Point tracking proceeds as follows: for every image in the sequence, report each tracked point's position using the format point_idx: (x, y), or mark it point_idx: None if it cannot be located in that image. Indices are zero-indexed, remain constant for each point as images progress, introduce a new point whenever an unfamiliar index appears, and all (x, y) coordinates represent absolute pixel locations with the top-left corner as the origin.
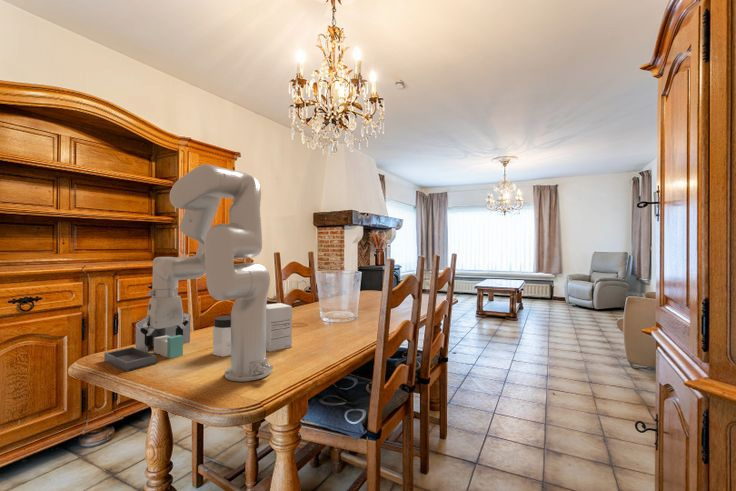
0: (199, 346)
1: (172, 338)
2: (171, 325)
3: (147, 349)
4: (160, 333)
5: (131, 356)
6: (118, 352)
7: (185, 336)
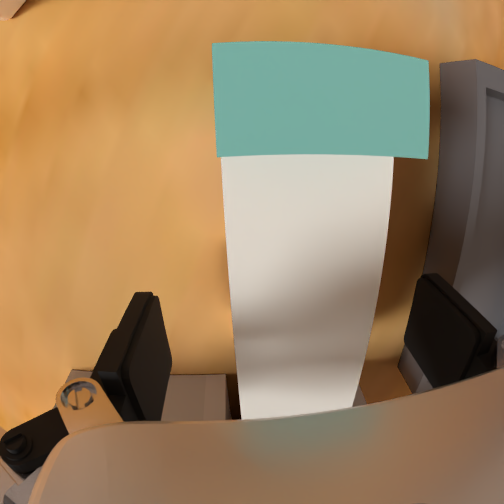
0: (40, 227)
1: (397, 54)
2: (317, 424)
3: None
4: None
5: None
6: None
7: None
